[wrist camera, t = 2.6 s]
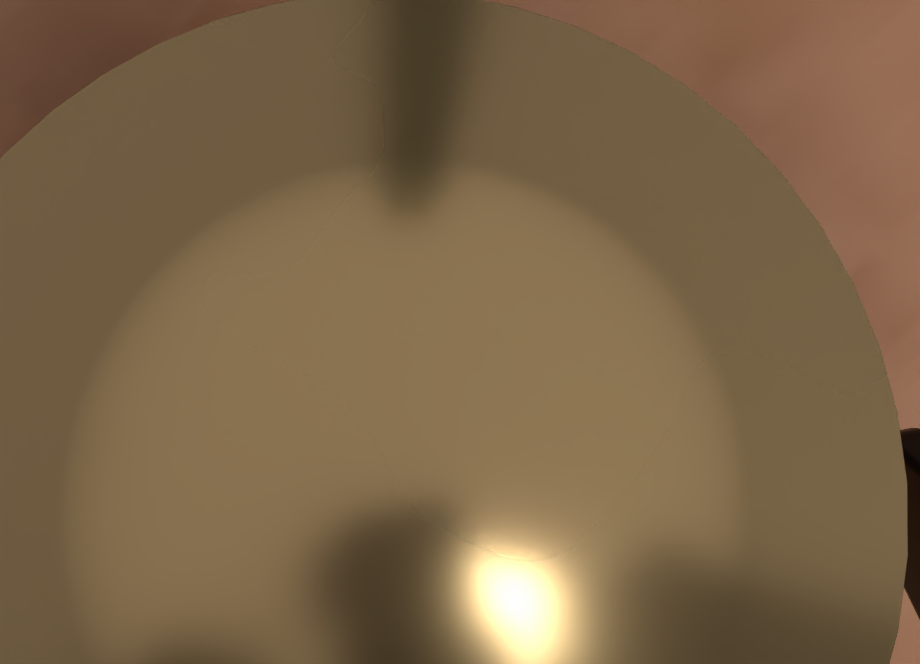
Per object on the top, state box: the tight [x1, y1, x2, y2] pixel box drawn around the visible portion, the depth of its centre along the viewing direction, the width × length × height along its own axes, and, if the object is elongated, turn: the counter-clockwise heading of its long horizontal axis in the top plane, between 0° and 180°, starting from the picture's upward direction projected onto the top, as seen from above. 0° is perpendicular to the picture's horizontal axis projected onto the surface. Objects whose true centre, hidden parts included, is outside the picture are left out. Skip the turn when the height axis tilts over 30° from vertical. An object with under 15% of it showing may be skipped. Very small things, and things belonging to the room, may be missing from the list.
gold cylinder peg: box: [0, 0, 908, 664], centre depth 11 cm, size 5×5×13 cm
